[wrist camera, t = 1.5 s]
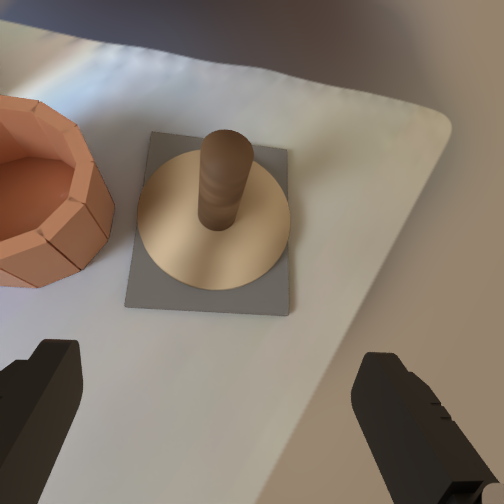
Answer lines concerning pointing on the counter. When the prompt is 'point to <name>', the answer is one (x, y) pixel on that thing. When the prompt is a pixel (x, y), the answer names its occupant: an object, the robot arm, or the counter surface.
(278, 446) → the counter surface
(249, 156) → the lid
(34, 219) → the bowl
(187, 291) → the mat
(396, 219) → the counter surface
